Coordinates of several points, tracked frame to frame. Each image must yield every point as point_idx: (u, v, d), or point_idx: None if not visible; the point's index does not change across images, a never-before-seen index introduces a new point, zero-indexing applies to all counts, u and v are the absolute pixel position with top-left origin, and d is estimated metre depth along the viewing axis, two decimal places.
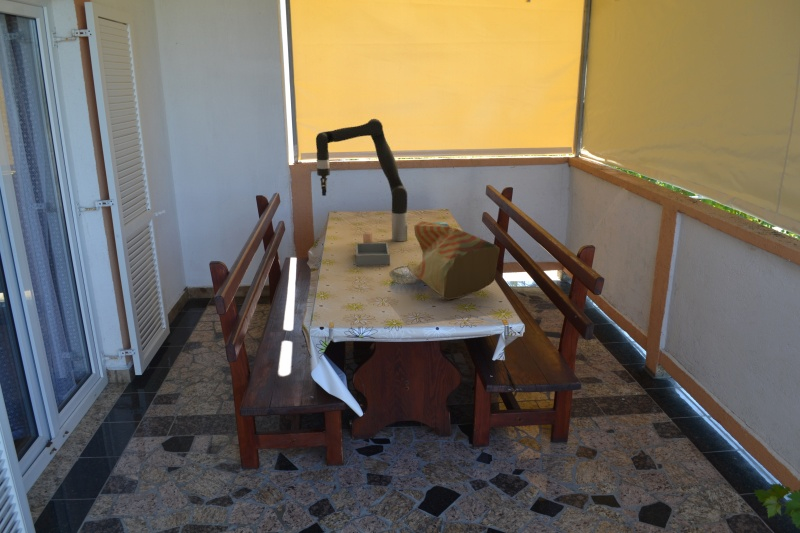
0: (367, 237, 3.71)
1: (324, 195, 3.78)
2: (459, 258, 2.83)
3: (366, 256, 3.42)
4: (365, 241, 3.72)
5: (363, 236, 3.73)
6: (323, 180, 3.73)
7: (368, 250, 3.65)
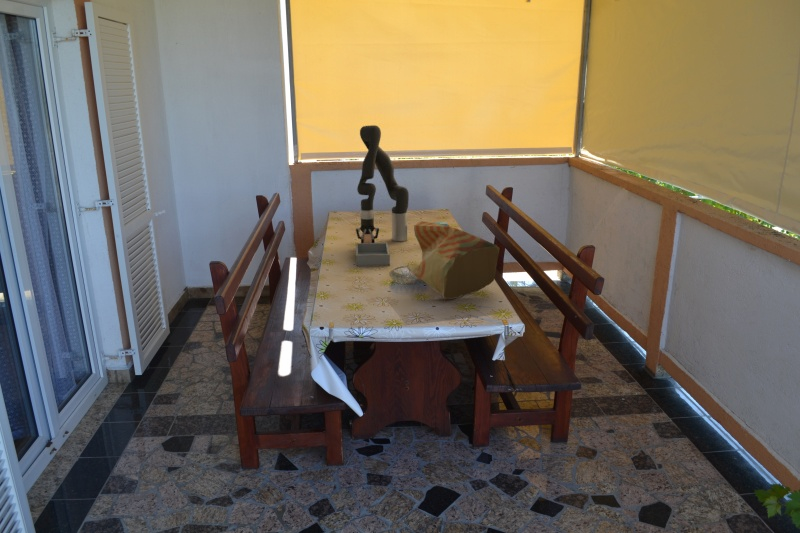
0: (367, 237, 3.71)
1: None
2: (459, 258, 2.84)
3: (366, 256, 3.42)
4: (365, 241, 3.72)
5: None
6: (378, 229, 3.73)
7: (368, 250, 3.65)
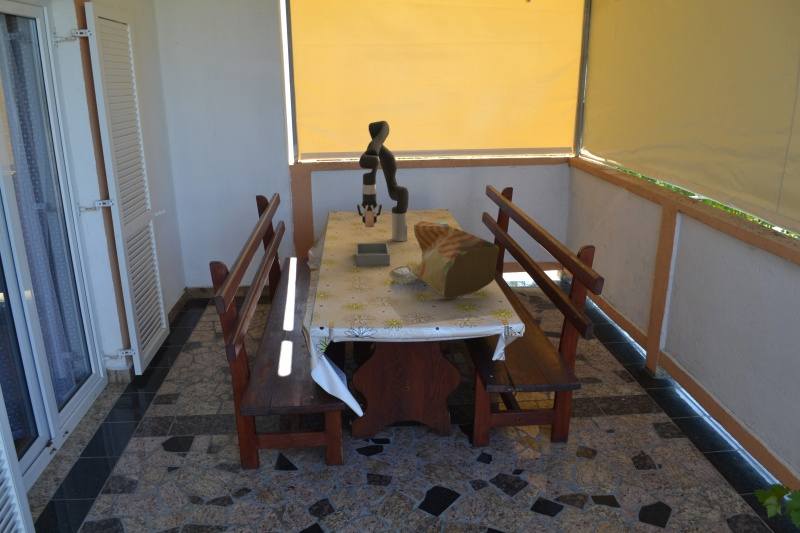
0: (369, 214, 3.48)
1: None
2: (459, 258, 2.84)
3: (366, 256, 3.42)
4: (367, 218, 3.49)
5: (365, 213, 3.49)
6: (381, 206, 3.49)
7: (368, 250, 3.65)
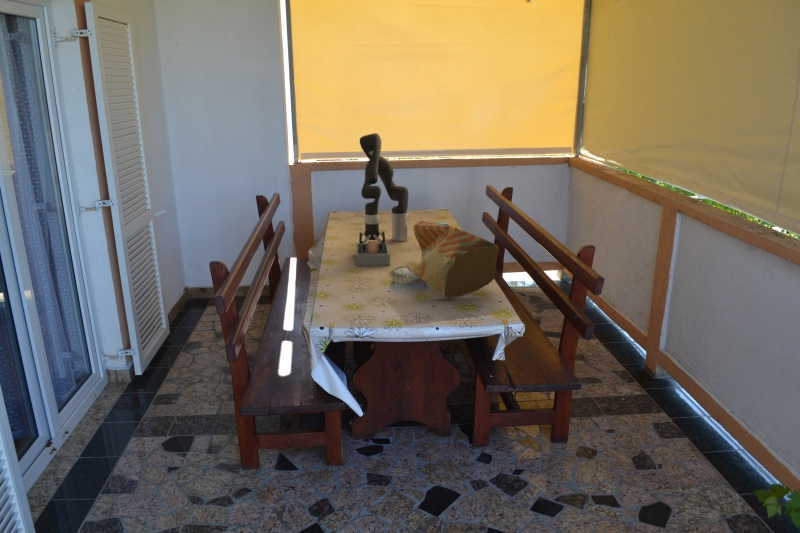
0: (372, 245, 3.50)
1: (380, 249, 3.54)
2: (459, 257, 2.85)
3: (366, 256, 3.42)
4: (370, 250, 3.51)
5: (368, 244, 3.52)
6: None
7: None
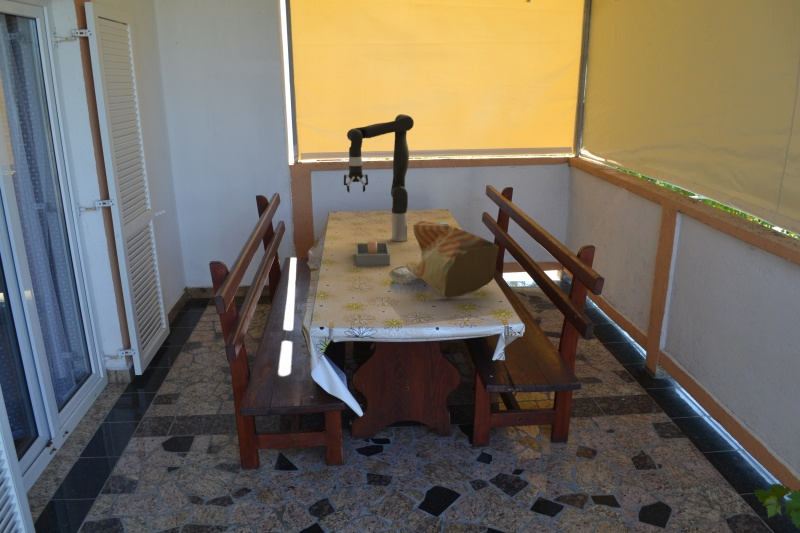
0: (371, 245, 3.50)
1: None
2: (459, 257, 2.85)
3: (366, 256, 3.42)
4: (369, 250, 3.51)
5: None
6: (367, 175, 3.71)
7: None
